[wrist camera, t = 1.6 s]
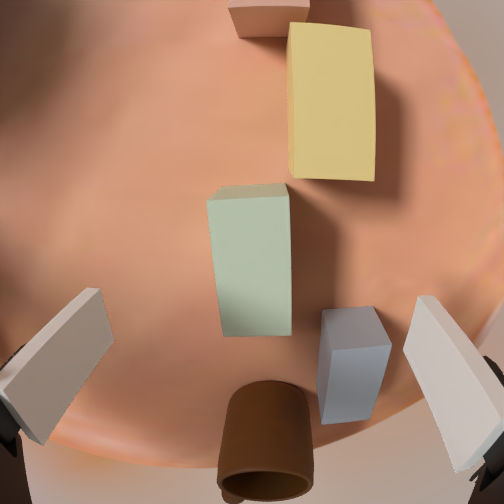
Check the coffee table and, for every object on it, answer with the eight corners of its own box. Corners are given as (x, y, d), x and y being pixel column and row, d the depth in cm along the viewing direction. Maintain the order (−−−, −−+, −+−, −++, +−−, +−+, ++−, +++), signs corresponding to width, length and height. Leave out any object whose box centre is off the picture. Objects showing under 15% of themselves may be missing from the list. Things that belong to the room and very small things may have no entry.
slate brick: (358, 378, 24) (369, 419, 19) (315, 382, 24) (321, 424, 20) (371, 305, 21) (392, 344, 17) (321, 308, 22) (332, 350, 17)
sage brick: (288, 294, 21) (291, 335, 17) (233, 295, 22) (223, 336, 17) (284, 182, 19) (289, 196, 14) (222, 186, 19) (206, 200, 14)
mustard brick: (349, 171, 18) (374, 181, 13) (288, 169, 18) (293, 178, 14) (347, 54, 15) (370, 30, 11) (286, 50, 15) (290, 21, 11)
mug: (264, 449, 29) (260, 517, 20) (202, 430, 28) (186, 500, 19) (323, 392, 25) (335, 477, 16) (249, 366, 24) (239, 459, 15)
